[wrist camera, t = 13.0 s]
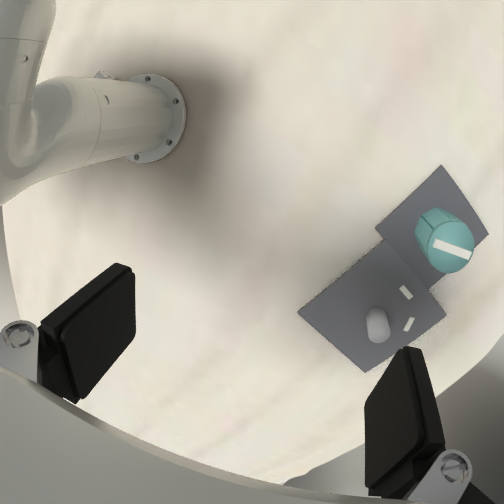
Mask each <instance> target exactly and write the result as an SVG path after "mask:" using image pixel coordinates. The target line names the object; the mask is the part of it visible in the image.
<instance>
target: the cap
mask: <svg viewBox="0 0 504 504" xmlns="http://www.w3.org/2000/svg"><path fill="white" fill-rule="evenodd" d="M414 233H415V234H414V235H415V237H416V240H417V242H418V245H419V247H420V249H421V251H422V252H423V254H424V255H425V257H426V258H427V260H428V261H429V263H430V264H431V265H432V266H434V267H435V268H436V269H437V270H439V271H441V272H443V273H453V272H456V271H459V270H460V269H462V268H463V267H464V266H465V265H466V264H467V263H468V262H469V260H470V259H471V257H472V254H473V251H474V238H473V235H472V233H471V231H470V230H469V229H468V226H467V225H466V224H465V223H464V222H462V221H461V220H460V219H459V218H458V217H456V216H455V215H454V214H453V213H451V212H449V211H446V210H444V209H441V208H439V207H437V208H436V207H435V208H433V209H431V210H429V211H428V212H426V213H424V214H422V217H421V216H420V218H419V221H418V224H417V226H416V229H415V232H414Z"/></svg>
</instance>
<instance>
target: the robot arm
mask: <svg viewBox="0 0 504 504" xmlns="http://www.w3.org/2000/svg"><path fill="white" fill-rule="evenodd" d="M55 14H56V2H55V0H0V206H1V205H3V204H4V203H6V202H7V201H9V200H10V199H12V198H13V197H14V196H16V195H17V194H19V193H20V192H22V191H23V190H25V189H26V188H28V187H30V186H32V185H34V184H36V183H37V182H40V181H42V180H45V179H47V178H49V177H52V176H55V175H58V174H61V173H65V172H68V171H71V170H75V169H79V168H82V167H86V166H90V165H93V164H97V163H101V162H105V161H109V160H113V159H117V158H121V157H124V158H125V159H127V160H129V161H131V162H136V163H149V162H153V161H156V160H159V159H161V158H163V157H165V156H166V155H167V154H169V153H170V152H171V151H172V150H173V149H174V148H175V146H176V145H177V144H178V142H179V140H180V139H181V137H182V134H183V131H184V128H185V123H186V106H185V101H184V99H183V96H182V94H181V92H180V91H179V89H178V88H177V86H176V85H175V84H174V83H173V82H172V81H170V80H169V79H167V78H165V77H163V76H160V75H156V74H141V75H137V76H134V77H132V78H130V79H128V80H127V81H118V80H113V79H111V77H110V76H109V75H108V74H106V73H105V72H104V71H99V72H98V73H97V74H96V75H95V76H94V78H86V77H71V76H63V77H56V78H52V79H48V80H46V81H44V82H41V83H39V84H37V85H36V81H37V77H38V73H39V69H40V66H41V62H42V58H43V55H44V52H45V49H46V45H47V42H48V39H49V36H50V33H51V29H52V26H53V23H54V19H55ZM150 79H151V80H150ZM35 85H36V86H35ZM178 100H179V102H178V103H177V101H178ZM171 141H172V144H171ZM135 334H136V316H135V274H134V273H133V272H132V269H131V268H130V267H128V266H125V265H122V264H119V263H114V264H113V265H111V266H110V267H109V268H107V269H106V270H105V271H104V272H102V273H101V274H100V275H98V276H97V277H96V278H94V279H93V280H92V281H90V282H89V283H88V284H87V285H85V286H84V287H83V288H81V289H80V290H79V291H78V292H76V293H75V294H74V295H73V296H71V297H70V298H69V299H68V300H66V301H65V302H64V303H63V304H61V305H60V306H59V307H58V308H56V309H55V310H54V311H53V312H51V313H50V314H49V315H48V316H47V317H45V318H44V319H43V320H42V321H41V325H40V326H39V327H38V328H37V327H36V325H34V324H33V323H31V322H29V321H23V320H20V321H15V322H12V323H9V324H8V325H7V326H5V327H4V328H3V329H2V331H1V333H0V504H495V503H494V502H492V500H490V499H489V498H488V497H487V496H486V495H485V494H483V493H482V492H481V491H480V490H479V489H478V488H477V487H475V486H474V485H473V484H472V483H471V482H470V479H471V476H472V466H471V463H470V461H469V460H468V458H467V457H466V456H465V455H464V454H463V453H461V452H459V451H457V450H453V449H452V450H446V449H445V439H444V434H443V429H442V425H441V420H440V416H439V412H438V408H437V404H436V400H435V396H434V392H433V388H432V384H431V381H430V377H429V374H428V370H427V367H426V363H425V360H424V357H423V354H422V351H421V349H419V348H414V347H409V346H405V347H403V349H399V350H398V351H397V352H396V354H395V355H394V357H393V359H392V360H391V362H390V364H389V365H388V367H387V369H386V370H385V372H384V374H383V375H382V377H381V378H380V380H379V381H378V383H377V385H376V386H375V388H374V389H373V391H372V392H371V394H370V395H369V397H368V398H367V400H366V402H365V406H364V416H365V486H366V487H368V488H369V493H368V495H369V496H381V498H369V497H358V496H348V495H339V494H332V493H323V492H317V491H311V490H305V489H299V488H294V487H289V486H284V485H279V484H274V483H270V482H266V481H261V480H257V479H253V478H249V477H245V476H242V475H238V474H235V473H231V472H228V471H224V470H221V469H218V468H215V467H211V466H208V465H205V464H202V463H199V462H197V461H194V460H191V459H188V458H185V457H183V456H180V455H177V454H175V453H172V452H170V451H167V450H165V449H162V448H160V447H157V446H155V445H153V444H150V443H148V442H146V441H143V440H141V439H139V438H137V437H134V436H132V435H130V434H128V433H126V432H124V431H122V430H120V429H118V428H115V427H113V426H112V425H110V424H108V423H106V422H104V421H102V420H100V419H98V418H96V417H94V416H92V415H91V414H89V413H87V412H85V411H83V410H82V409H80V408H78V407H76V406H74V405H73V404H71V403H69V402H67V401H66V400H64V399H63V397H64V398H66V399H67V400H69V401H71V402H72V403H74V404H76V403H77V402H78V401H79V400H80V398H81V399H84V398H86V397H87V395H88V394H89V393H90V392H91V390H92V389H93V388H94V387H95V385H96V384H97V383H98V382H99V381H100V379H101V378H102V377H103V376H104V374H105V373H106V372H107V371H108V369H109V368H110V367H111V366H112V365H113V363H114V362H115V361H116V360H117V358H118V357H119V356H120V355H121V354H122V352H123V351H124V350H125V349H126V348H127V346H128V345H129V344H130V343H131V342H132V340H133V339H134V337H135Z"/></svg>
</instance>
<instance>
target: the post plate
mask: <svg viewBox="0 0 504 504" xmlns="http://www.w3.org/2000/svg"><path fill="white" fill-rule="evenodd" d="M298 314H299V315H300V316H301V317H302V318H303V319H305V320H306V321H307V322H308V323H309V324H310V325H311V326H312V327H314V328H315V329H316V330H317V331H318V332H319V333H320V334H321V335H323V336H324V337H325V338H326V339H327V340H328V341H329V342H330V343H332V344H333V345H334V346H335V347H336V348H337V349H338V350H340V351H341V352H342V353H343V354H344V355H345V356H346V357H347V358H349V359H350V360H351V361H352V362H353V363H354V364H355V365H357V366H358V367H359V368H360V369H361V370H362V371H363V372H365V373H366V372H367V371H369V370H371V369H372V368H374V367H375V366H377V365H378V364H380V363H381V362H383V361H384V360H386V359H388V358H389V357H390V356H392V355H393V354H395V353H396V352H397V351H398V350H399V349H402V348H403V347H405V346H406V345H408V344H409V343H411V342H412V341H414V340H415V339H416V338H418V337H419V336H420V335H422V334H423V333H424V332H426V331H427V330H428V329H430V328H431V327H432V326H434V325H435V324H436V323H438V322H439V321H440V320H441V319H443V318H444V317H445V316H446V313H445V312H444V310H443V309H442V308H441V306H440V305H439V304H438V303H437V301H436V300H435V299H434V297H433V296H432V295H431V294H430V292H429V291H428V290H427V289H426V288H425V287H424V285H423V284H422V283H421V282H420V280H419V279H418V278H417V277H416V275H415V274H414V273H413V272H412V271H411V269H410V268H409V267H408V266H407V265H406V263H405V262H404V261H403V260H402V259H401V258H400V256H399V255H398V254H397V253H396V252H395V251H394V249H393V248H392V247H391V246H390V245H389V244H388V243H387V241H386V240H385V239H384V240H383V241H381V242H380V243H379V244H378V245H377V246H376V247H375V248H374V249H372V250H371V251H370V252H369V253H368V254H367V255H366V256H364V257H363V258H362V259H361V260H360V261H359V262H357V263H356V264H355V265H354V266H353V267H352V268H350V269H349V270H348V271H347V272H346V273H344V274H343V275H342V276H341V277H340V278H338V279H337V280H336V281H335V282H334V283H332V284H331V285H330V286H329V287H328V288H326V289H325V290H324V291H323V292H321V293H320V294H319V295H318V296H316V297H315V298H314V299H313V300H311V301H310V302H309V303H308V304H306V305H305V306H304V307H303V308H301V309H300V310H299V311H298Z"/></svg>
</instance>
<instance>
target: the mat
mask: <svg viewBox="0 0 504 504" xmlns="http://www.w3.org/2000/svg"><path fill="white" fill-rule="evenodd" d="M435 207H436V208H437V207H439V208H441V209H444V210H446V211H449V212H451V213H453V214H454V215H455V216H456V217H458V218H459V219H460V220H461V221H462V222H464V223H465V224H466V225H467V226H468V229H469V230H470V231H471V233H472V235H473V238H474V248H475V247H476V246H477V245H478V244H479V243H480V242H481V241H482V240H483V239H484V238H485V237H486V236H487V235H488V234H489V233H488V232H487V230H486V228H485V227H484V225H483V224H482V222H481V220H480V219H479V217H478V216H477V214H476V213H475V211H474V209H473V208H472V206H471V205H470V203H469V202H468V200H467V199H466V197H465V196H464V195H463V193H462V192H461V190H460V189H459V187H458V186H457V185H456V183H455V182H454V180H453V179H452V178H451V176H450V175H449V174H448V172H447V171H446V170H445V168H444V167H443V166H442V165H440V166H439V167H438V168H437V169H436V170H435V171H434V172H433V173H432V174H431V175H430V176H429V177H428V178H427V179H426V180H425V181H424V182H423V183H422V184H421V185H420V186H419V187H418V188H417V189H416V190H415V191H414V192H413V193H412V194H411V195H410V196H408V197H407V198H406V199H405V200H404V201H403V202H402V203H401V204H400V205H399V206H398V207H397V208H396V209H395V210H394V211H393V212H391V213H390V214H389V215H388V216H387V217H386V218H385V219H384V220H383V221H382V222H381V223H380V224H378V225H377V226H376V227H375V229H376V230H377V231H378V232H379V234H380V235H381V236H382V237H383V238H384V239H385V240H386V241H387V243H388V244H389V245H390V246H391V247H392V248H393V249H394V251H395V252H396V253H397V254H398V255H399V256H400V258H401V259H402V260H403V261H404V262H405V263H406V265H407V266H408V267H409V268H410V269H411V271H412V272H413V273H414V274H415V275H416V277H417V278H418V279H419V280H420V282H421V283H422V284H423V285H424V287H425V288H426V289H427V290H428V289H429V288H430V287H431V286H433V285H434V284H435V283H436V282H437V281H438V280H440V279H441V278H442V277H443V276H444V275H445V274H447V273H443V272H441V271H439V270H437V269H436V268H435V267H434V266H432V265H431V264H430V263H429V261H428V260H427V258H426V257H425V255H424V254H423V252H422V251H421V249H420V247H419V245H418V242H417V240H416V237H415V235H414V234H415V233H414V232H415V229H416V226H417V224H418V221H419V218H420V216H421V217H422V214H424V213H426V212H428V211H429V210H431V209H433V208H435Z"/></svg>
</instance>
